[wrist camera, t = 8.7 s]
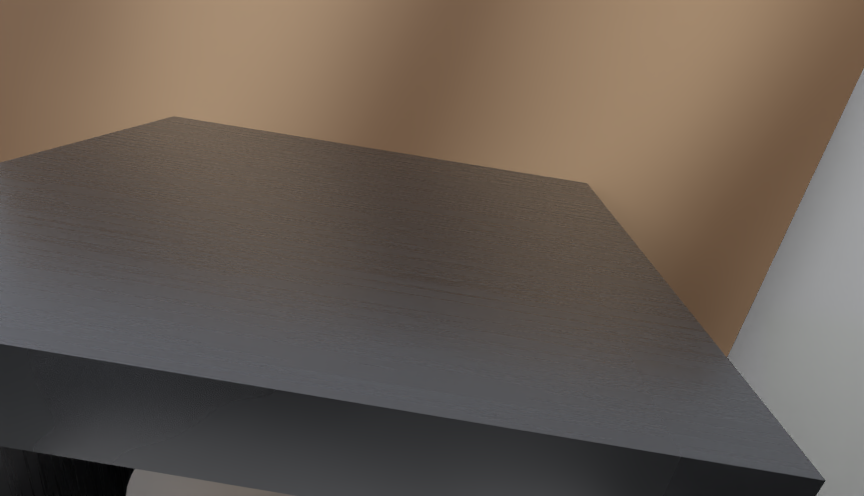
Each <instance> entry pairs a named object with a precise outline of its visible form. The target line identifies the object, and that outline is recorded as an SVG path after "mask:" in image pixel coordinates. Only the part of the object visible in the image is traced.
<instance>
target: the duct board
mask: <svg viewBox="0 0 864 496" xmlns="http://www.w3.org/2000/svg"><path fill="white" fill-rule="evenodd" d="M863 68H864V0H0V162H4V161H8V160H12V159H15V158H19V157H23V156H27V155H30V154H34V153H38V152H42V151H45V150H49V149H53V148H56V147H60V146H64V145H68V144H71V143H75V142H79V141H83V140H86V139H90V138H94V137H98V136H101V135H105V134H109V133H113V132H116V131H120V130H124V129H128V128H131V127H135V126H139V125H143V124H146V123H150V122H154V121H158V120H161V119H165V118H169V117H173V116H176V117H182V118H188V119H194V120H200V121H207V122H213V123H219V124H225V125H231V126H237V127H244V128H250V129H256V130H262V131H268V132H275V133H281V134H287V135H293V136H299V137H305V138H312V139H318V140H324V141H330V142H336V143H343V144H349V145H355V146H361V147H367V148H373V149H380V150H386V151H392V152H398V153H404V154H410V155H417V156H423V157H429V158H435V159H441V160H448V161H454V162H460V163H466V164H472V165H478V166H485V167H491V168H497V169H503V170H509V171H515V172H522V173H528V174H534V175H540V176H546V177H553V178H559V179H565V180H571V181H577V182H583V183H587V184H588V185H589V186H590V187H591V189H592V190H593V191H594V192H595V194H596V195H597V196H598V197H599V199H600V200H601V201H602V202H603V204H604V205H605V206H606V207H607V209H608V210H609V211H610V212H611V214H612V215H613V216H614V217H615V219H616V220H617V221H618V222H619V224H620V225H621V226H622V227H623V229H624V230H625V231H626V232H627V234H628V235H629V236H630V237H631V239H632V240H633V241H634V242H635V243H636V245H637V246H638V247H639V248H640V250H641V251H642V252H643V253H644V255H645V256H646V257H647V258H648V260H649V261H650V262H651V263H652V265H653V266H654V267H655V268H656V270H657V271H658V272H659V273H660V275H661V276H662V277H663V278H664V280H665V281H666V282H667V283H668V285H669V286H670V287H671V288H672V290H673V291H674V292H675V293H676V295H677V296H678V297H679V298H680V300H681V301H682V302H683V303H684V305H685V306H686V307H687V308H688V310H689V311H690V312H691V313H692V315H693V316H694V317H695V318H696V320H697V321H698V322H699V323H700V325H701V326H702V327H703V328H704V330H705V331H706V332H707V333H708V335H709V336H710V337H711V338H712V340H713V341H714V342H715V343H716V345H717V346H718V347H719V348H720V350H721V351H722V352H723V353H724V355H725V356H726V357H727V356H728V354H729V352H730V350H731V348H732V346H733V344H734V341H735V339H736V337H737V335H738V333H739V331H740V329H741V327H742V325H743V322H744V320H745V318H746V316H747V314H748V312H749V310H750V308H751V305H752V303H753V301H754V299H755V297H756V295H757V293H758V291H759V289H760V286H761V284H762V282H763V280H764V278H765V276H766V274H767V272H768V269H769V267H770V265H771V263H772V261H773V259H774V257H775V255H776V253H777V250H778V248H779V246H780V244H781V242H782V240H783V238H784V236H785V233H786V231H787V229H788V227H789V225H790V223H791V221H792V219H793V217H794V214H795V212H796V210H797V208H798V206H799V204H800V202H801V200H802V197H803V195H804V193H805V191H806V189H807V187H808V185H809V183H810V181H811V178H812V176H813V174H814V172H815V170H816V168H817V166H818V164H819V161H820V159H821V157H822V155H823V153H824V151H825V149H826V147H827V145H828V142H829V140H830V138H831V136H832V134H833V132H834V130H835V128H836V125H837V123H838V121H839V119H840V117H841V115H842V113H843V111H844V109H845V106H846V104H847V102H848V100H849V98H850V96H851V94H852V92H853V89H854V87H855V85H856V83H857V81H858V79H859V77H860V75H861V73H862V70H863ZM126 496H295V495H289V494H283V493H277V492H271V491H265V490H259V489H253V488H247V487H241V486H235V485H229V484H223V483H217V482H211V481H205V480H199V479H193V478H187V477H181V476H175V475H169V474H163V473H157V472H151V471H145V470H139V469H134V471H133V473H132V475H131V477H130V480H129V483H128V486H127V491H126Z"/></svg>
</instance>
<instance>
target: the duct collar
mask: <svg viewBox="0 0 864 496" xmlns="http://www.w3.org/2000/svg"><path fill="white" fill-rule="evenodd" d="M134 469H139V470H145V471H151V472H157V473H163V474H169V475H175V476H181V477H187V478H193V479H199V480H205V481H211V482H217V483H223V484H229V485H235V486H241V487H247V488H253V489H259V490H265V491H271V492H277V493H283V494H289V495H295V496H816V494H817V493H818V491H819V490H820V488H821V487H822V485H823V484H824V482H825V479H824V478H823V477H822V476H821V474H820V473H819V472H818V471H817V469H816V468H815V467H814V466H813V464H812V463H811V462H810V461H809V459H808V458H807V457H806V456H805V454H804V453H803V452H802V451H801V449H800V448H799V447H798V446H797V444H796V443H795V442H794V441H793V439H792V438H791V437H790V436H789V434H788V433H787V432H786V431H785V429H784V428H783V427H782V426H781V424H780V423H779V422H778V421H777V419H776V418H775V417H774V416H773V414H772V413H771V412H770V411H769V409H768V408H767V407H766V406H765V404H764V403H763V402H762V401H761V399H760V398H759V397H758V396H757V395H756V393H755V392H754V391H753V390H752V388H751V387H750V386H749V385H748V383H747V382H746V381H745V380H744V378H743V377H742V376H741V375H740V373H739V372H738V371H737V370H736V368H735V367H734V366H733V365H732V363H731V362H730V361H729V360H728V358H727V357H726V356H725V355H724V353H723V352H722V351H721V350H720V348H719V347H718V346H717V345H716V343H715V342H714V341H713V340H712V338H711V337H710V336H709V335H708V333H707V332H706V331H705V330H704V328H703V327H702V326H701V325H700V323H699V322H698V321H697V320H696V318H695V317H694V316H693V315H692V313H691V312H690V311H689V310H688V308H687V307H686V306H685V305H684V303H683V302H682V301H681V300H680V298H679V297H678V296H677V295H676V293H675V292H674V291H673V290H672V288H671V287H670V286H669V285H668V283H667V282H666V281H665V280H664V278H663V277H662V276H661V275H660V273H659V272H658V271H657V270H656V268H655V267H654V266H653V265H652V263H651V262H650V261H649V260H648V258H647V257H646V256H645V255H644V253H643V252H642V251H641V250H640V248H639V247H638V246H637V245H636V243H635V242H634V241H633V240H632V239H631V237H630V236H629V235H628V234H627V232H626V231H625V230H624V229H623V227H622V226H621V225H620V224H619V222H618V221H617V220H616V219H615V217H614V216H613V215H612V214H611V212H610V211H609V210H608V209H607V207H606V206H605V205H604V204H603V202H602V201H601V200H600V199H599V197H598V196H597V195H596V194H595V192H594V191H593V190H592V189H591V187H590V186H589V185H588V184H587V183H583V182H577V181H571V180H565V179H559V178H553V177H546V176H540V175H534V174H528V173H522V172H515V171H509V170H503V169H497V168H491V167H485V166H478V165H472V164H466V163H460V162H454V161H448V160H441V159H435V158H429V157H423V156H417V155H410V154H404V153H398V152H392V151H386V150H380V149H373V148H367V147H361V146H355V145H349V144H343V143H336V142H330V141H324V140H318V139H312V138H305V137H299V136H293V135H287V134H281V133H275V132H268V131H262V130H256V129H250V128H244V127H237V126H231V125H225V124H219V123H213V122H207V121H200V120H194V119H188V118H182V117H176V116H173V117H169V118H165V119H161V120H158V121H154V122H150V123H146V124H143V125H139V126H135V127H131V128H128V129H124V130H120V131H116V132H113V133H109V134H105V135H101V136H98V137H94V138H90V139H86V140H83V141H79V142H75V143H71V144H68V145H64V146H60V147H56V148H53V149H49V150H45V151H42V152H38V153H34V154H30V155H27V156H23V157H19V158H15V159H12V160H8V161H4V162H0V496H126V491H127V486H128V483H129V480H130V477H131V475H132V473H133V471H134Z"/></svg>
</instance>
